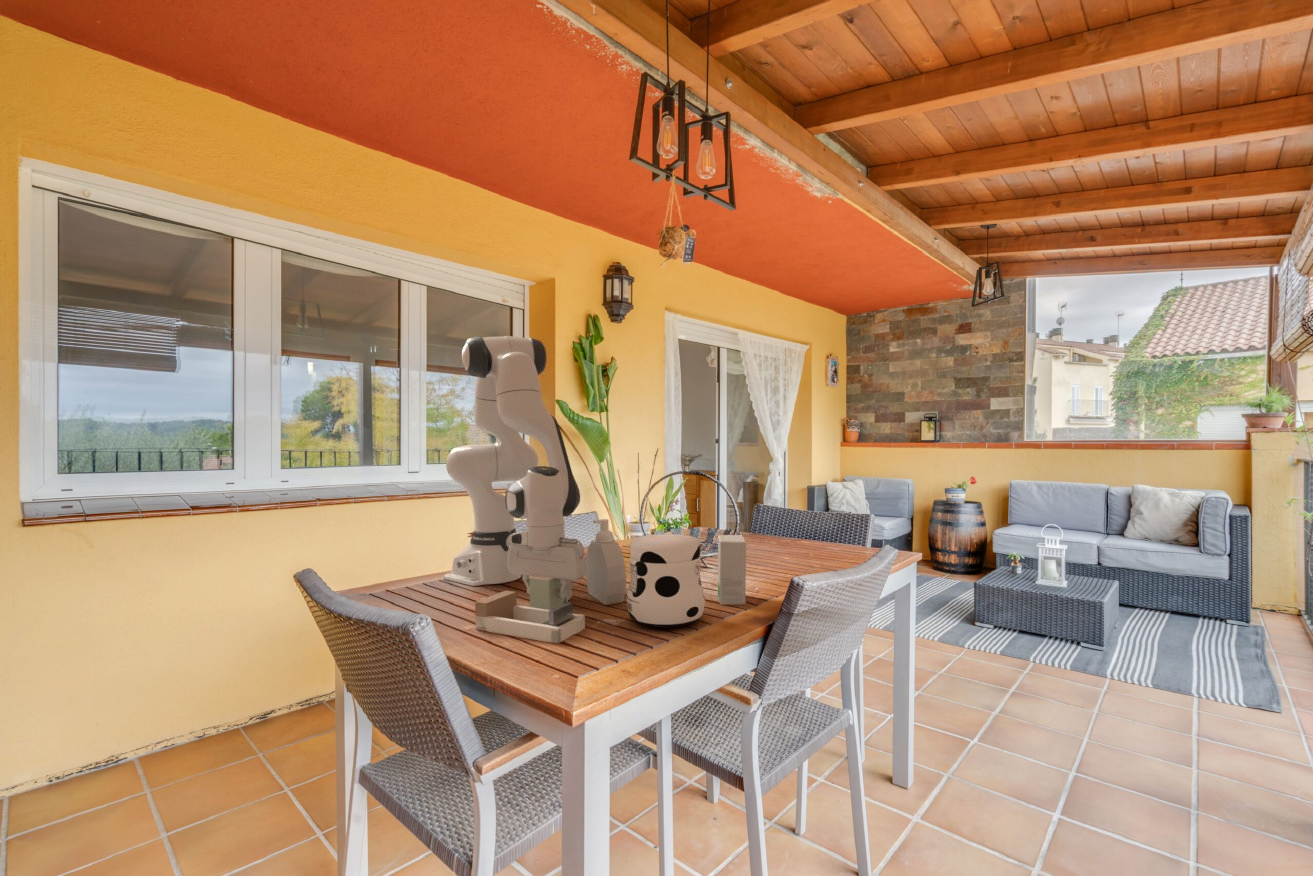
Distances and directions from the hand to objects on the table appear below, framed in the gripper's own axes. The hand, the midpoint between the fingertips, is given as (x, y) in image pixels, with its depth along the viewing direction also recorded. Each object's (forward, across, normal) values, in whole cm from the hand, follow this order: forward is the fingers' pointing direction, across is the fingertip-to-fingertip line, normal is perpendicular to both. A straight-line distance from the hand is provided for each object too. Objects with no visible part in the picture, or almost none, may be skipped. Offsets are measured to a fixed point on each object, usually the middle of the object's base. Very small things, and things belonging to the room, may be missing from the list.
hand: (546, 595), depth 143 cm
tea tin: (+4, 0, 0) cm, 4 cm away
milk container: (+4, -28, -6) cm, 29 cm away
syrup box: (+4, +4, -10) cm, 12 cm away
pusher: (+4, -10, +11) cm, 16 cm away
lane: (+4, -4, +11) cm, 12 cm away
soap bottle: (+4, -6, -16) cm, 18 cm away
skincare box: (+4, -36, -27) cm, 45 cm away
